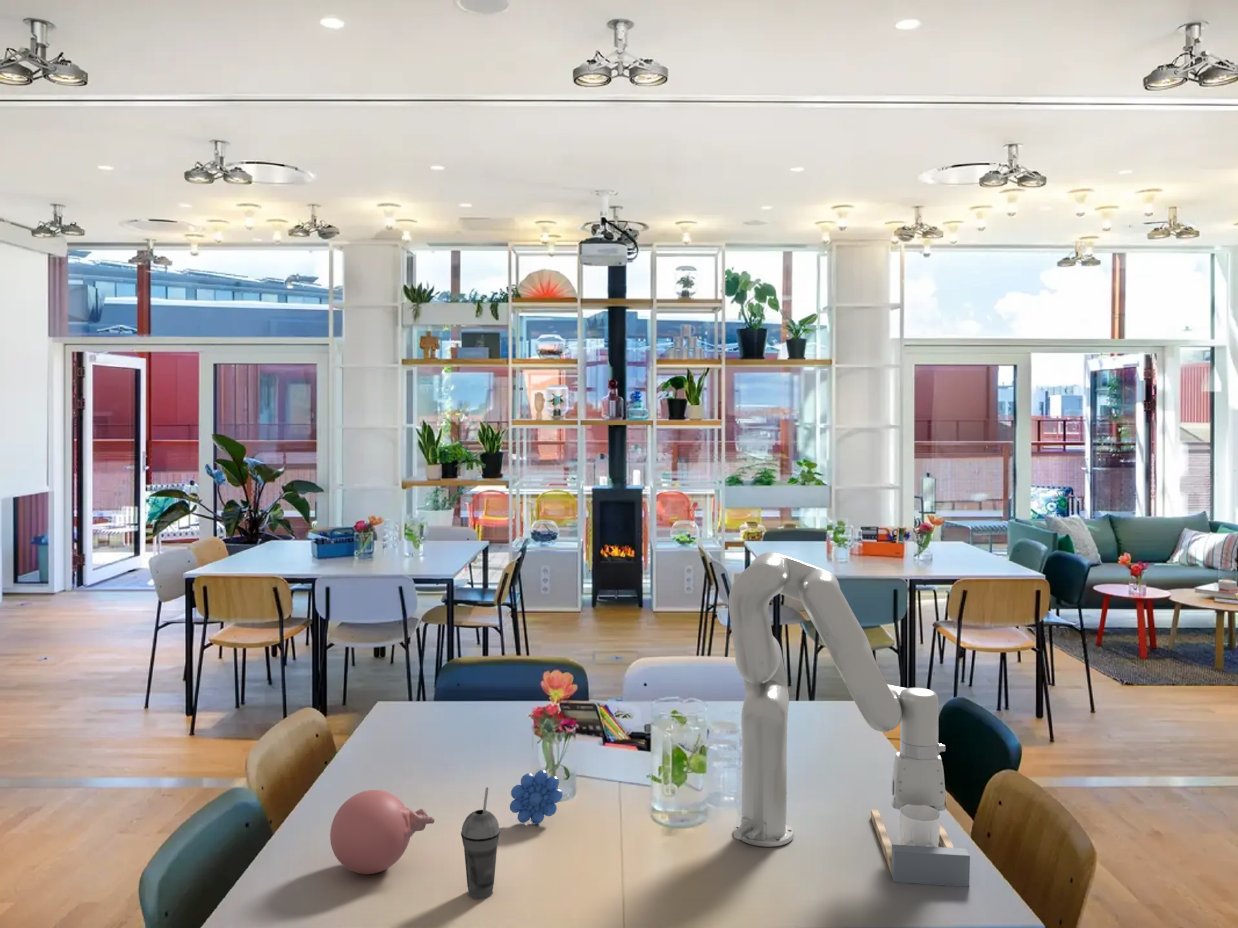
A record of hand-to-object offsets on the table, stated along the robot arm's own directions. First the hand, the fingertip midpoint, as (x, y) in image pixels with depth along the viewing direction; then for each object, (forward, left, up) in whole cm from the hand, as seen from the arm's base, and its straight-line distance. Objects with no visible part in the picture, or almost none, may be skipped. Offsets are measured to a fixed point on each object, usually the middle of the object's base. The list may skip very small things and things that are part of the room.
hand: (918, 836), depth 193 cm
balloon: (-73, +81, -3) cm, 109 cm away
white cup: (-5, -2, -3) cm, 6 cm away
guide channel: (+1, +1, -3) cm, 3 cm away
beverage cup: (-68, +59, -3) cm, 90 cm away
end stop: (-12, -6, -3) cm, 14 cm away
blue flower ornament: (-38, +72, -3) cm, 81 cm away
